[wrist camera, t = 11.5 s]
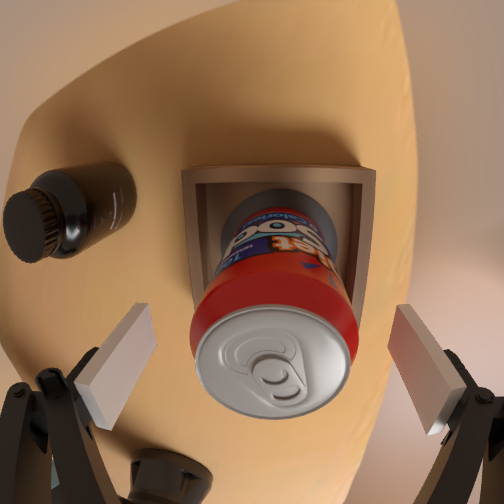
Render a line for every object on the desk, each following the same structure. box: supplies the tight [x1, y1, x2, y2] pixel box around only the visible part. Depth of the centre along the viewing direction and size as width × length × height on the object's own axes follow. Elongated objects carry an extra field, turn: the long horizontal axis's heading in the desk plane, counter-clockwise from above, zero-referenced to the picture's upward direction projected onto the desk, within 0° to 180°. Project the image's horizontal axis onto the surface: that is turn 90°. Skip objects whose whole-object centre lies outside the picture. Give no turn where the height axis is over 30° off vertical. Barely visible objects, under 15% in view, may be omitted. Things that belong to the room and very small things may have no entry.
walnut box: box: [181, 164, 376, 331], centre depth 25 cm, size 14×14×4 cm
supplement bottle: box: [3, 162, 137, 263], centre depth 21 cm, size 7×7×12 cm
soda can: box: [190, 206, 359, 420], centre depth 19 cm, size 8×8×15 cm
